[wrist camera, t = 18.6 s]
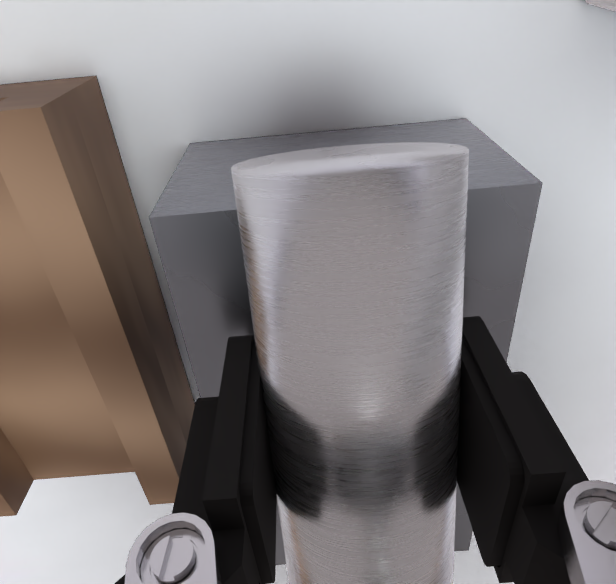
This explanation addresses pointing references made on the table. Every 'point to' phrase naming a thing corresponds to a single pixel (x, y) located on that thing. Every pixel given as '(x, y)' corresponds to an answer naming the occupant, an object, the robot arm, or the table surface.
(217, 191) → the v block
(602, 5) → the milk carton
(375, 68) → the table surface
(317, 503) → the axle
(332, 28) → the table surface
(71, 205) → the brown piece
